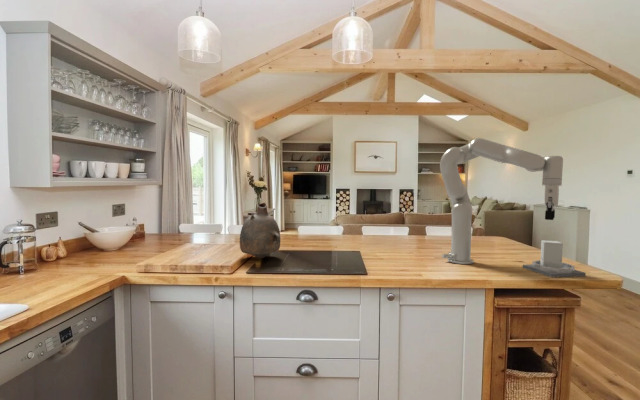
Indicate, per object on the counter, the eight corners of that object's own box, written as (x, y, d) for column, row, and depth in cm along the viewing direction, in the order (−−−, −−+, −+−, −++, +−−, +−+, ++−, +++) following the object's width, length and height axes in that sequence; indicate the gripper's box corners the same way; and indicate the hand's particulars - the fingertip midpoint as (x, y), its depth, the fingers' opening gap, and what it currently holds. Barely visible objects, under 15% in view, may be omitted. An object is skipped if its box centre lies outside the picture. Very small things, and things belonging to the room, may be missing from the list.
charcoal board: (551, 277, 146) (551, 274, 146) (522, 267, 163) (522, 264, 163) (585, 276, 149) (585, 272, 149) (553, 266, 166) (553, 263, 166)
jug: (230, 262, 170) (230, 203, 169) (246, 253, 191) (246, 201, 190) (276, 264, 166) (276, 204, 165) (287, 255, 187) (288, 202, 186)
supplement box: (562, 271, 152) (563, 243, 151) (542, 269, 155) (543, 242, 154) (558, 267, 158) (559, 241, 158) (539, 265, 161) (541, 239, 161)
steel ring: (551, 273, 147) (552, 269, 147) (524, 264, 163) (524, 260, 163) (584, 272, 149) (584, 268, 149) (553, 263, 165) (553, 259, 165)
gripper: (561, 182, 147) (558, 221, 148) (562, 182, 161) (560, 218, 162) (540, 182, 151) (538, 219, 152) (543, 182, 165) (541, 217, 166)
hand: (549, 218), depth 157 cm, fingers open, 9 cm apart
